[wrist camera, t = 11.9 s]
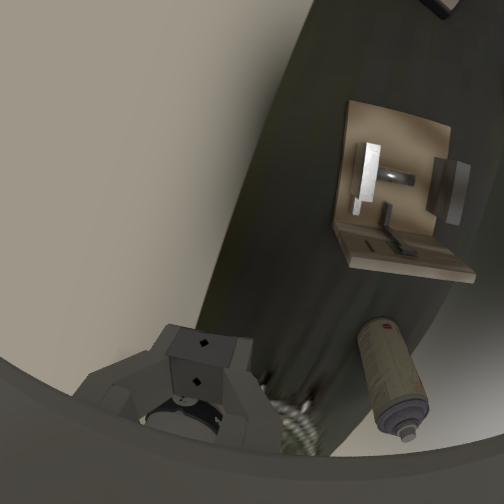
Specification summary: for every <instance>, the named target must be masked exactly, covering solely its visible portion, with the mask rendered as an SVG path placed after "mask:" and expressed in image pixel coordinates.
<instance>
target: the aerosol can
mask: <svg viewBox="0 0 504 504" xmlns="http://www.w3.org/2000/svg"><path fill="white" fill-rule="evenodd" d="M357 341H358V346H359V350H360V354H361V358H362V362H363V366H364V371H365V375H366V380H367V384H368V389H369V394H370V398H371V403H372V408H373V413H374V419H375V423H376V424H377V427H378V429H379V430H380V431H381V432H383V433H386V434H392V435H395V436H399V437H401V441H402V442H409V441H412V440H413V439H414V438H415V437H416V433H415V431H416V429H417V428H418V426H419V425H420V424H421V423H422V421H423V420H424V418H425V417H426V416H427V415H428V412H429V405H428V398H427V395H426V393H425V390H424V388H423V385H422V382H421V380H420V378H419V375H418V373H417V370H416V368H415V365H414V363H413V360H412V358H411V356H410V353H409V351H408V349H407V346H406V344H405V342H404V340H403V337H402V335H401V333H400V331H399V329H398V326H397V325H396V323H395V322H394V321H393V320H392V319H390V318H387V317H376V318H373V319H371V320H369V321H368V322H366V323H365V324H364V325H363V326H362V327H361V328H360V330H359V332H358V334H357Z"/></svg>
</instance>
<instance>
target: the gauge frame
mask: <svg viewBox="0 0 504 504" xmlns="http://www.w3.org/2000/svg"><path fill="white" fill-rule="evenodd" d="M450 130H451V127H448V126H445V125H442V124H439V123H436V122H433V121H430V120H427V119H424V118H420V117H417V116H414V115H410V114H406V113H403V112H399V111H395V110H391V109H387V108H383V107H379V106H375V105H370V104H365V103H361V102H356V101H351V100H349V101H348V102H347V111H346V121H345V131H344V140H343V148H342V156H341V164H340V172H339V179H338V186H337V192H336V199H335V205H334V212H333V218H332V224H331V227H332V229H334V232H335V234H336V236H337V239H338V241H339V243H340V246H341V248H342V251H343V253H344V256H345V258H346V261H347V263H348V266H349V267H351V268H359V269H366V270H374V271H381V272H389V273H397V274H404V275H412V276H420V277H428V278H435V279H443V280H451V281H459V282H466V283H474V280H475V277H476V273H474V272H473V271H472V270H471V269H470V268H469V267H468V266H467V265H465V264H464V263H463V262H462V261H461V260H460V259H459V258H458V257H456V256H455V255H454V254H453V253H452V252H450V251H449V250H448V249H447V248H446V247H445V246H443V245H442V244H441V243H440V242H438V241H437V240H436V239H435V238H434V237H432V234H433V230H434V226H435V222H436V218H437V217H438V218H439V219H441V220H443V221H444V222H446V223H450V224H455V225H459V224H460V219H461V215H462V211H463V206H464V201H465V196H466V191H467V185H468V180H469V173H470V167H471V166H470V165H467V164H465V163H462V162H458V161H454V160H449V159H447V156H448V149H449V140H450ZM357 142H361V143H371V144H376V145H381V148H380V156H379V163H378V166H382V167H386V168H391V169H396V170H400V171H404V172H409V173H413V174H415V184H414V186H413V187H408V186H404V185H399V184H394V183H389V182H384V181H379V180H376V183H375V189H374V195H373V201H372V202H367V201H362V202H361V207H360V213H359V216H358V215H352V213H351V212H350V208H351V202H352V196H353V194H352V193H351V192H350V188H351V182H352V175H353V168H354V161H355V153H356V145H357ZM385 202H389V203H390V204H392V205H393V207H392V212H391V217H390V222H389V227H390V228H391V229H392V230H393V231H394V232H395V233H396V234H397V235H398V236H399V237H400V238H401V239H402V240H403V241H404V242H405V243H406V244H407V245H408V246H409V247H412V248H414V249H415V250H416V251H417V256H413V255H407V254H402V253H401V252H400V251H399V250H398V248H399V246H398V245H397V244H396V243H395V242H394V241H393V240H392V238H391V237H390V236H389V235H388V234H387V233H386V232H385V231H384V230H383V229H382V228H381V226H380V225H379V222H381V218H382V213H383V208H384V203H385Z"/></svg>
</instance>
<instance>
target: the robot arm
mask: <svg viewBox="0 0 504 504" xmlns="http://www.w3.org/2000/svg"><path fill="white" fill-rule="evenodd" d="M253 343H254V340H253V339H251V338H244V337H234V336H228V335H222V334H216V333H210V332H206V331H201V330H196V329H192V328H187V327H182V326H177V325H173V324H168V325H166V326H165V328H164V329H163V331H162V333H161V334H160V336H159V337H158V339H157V340H156V342H155V343H154V345H153V346H152V348H151V349H150V351H147V350H145V351H142V352H140V353H138V354H136V355H133V356H131V357H129V358H126V359H124V360H121V361H119V362H117V363H114V364H112V365H110V366H107V367H105V368H102V369H100V370H97V371H95V372H93V373H90V374H89V375H88V376H87V378H86V379H85V380H84V382H83V383H82V384H81V385H80V387H79V388H78V389H77V391H76V392H75V393H74V394H73V396H70V395H67V394H65V393H63V392H61V391H59V390H57V389H55V388H53V387H51V386H49V385H47V384H46V383H44V382H41V381H40V380H38V379H36V378H34V377H33V376H31V375H29V374H27V373H26V372H24V371H22V370H21V369H19V368H17V367H16V366H14V365H12V364H11V363H9V362H8V361H6V360H4V359H3V358H1V357H0V504H504V434H501V435H498V436H495V437H491V438H487V439H483V440H480V441H475V442H471V443H467V444H463V445H458V446H452V447H447V448H442V449H436V450H430V451H422V452H415V453H407V454H395V455H384V456H383V455H382V456H364V457H363V456H361V457H326V456H304V455H290V454H280V446H281V436H282V425H283V421H282V419H281V418H280V416H279V415H278V413H277V412H276V410H275V409H274V407H273V406H272V404H271V403H270V401H269V400H268V398H267V396H266V395H265V393H264V392H263V390H262V389H261V387H260V386H259V384H258V380H257V378H255V377H254V376H253V375H252V373H251V372H250V367H251V360H252V351H253ZM146 414H147V415H146ZM145 415H146V419H145V420H146V423H145V425H142V424H140V421H139V419H140V418H142V417H143V416H145Z"/></svg>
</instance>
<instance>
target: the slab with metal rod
mask: <svg viewBox="0 0 504 504" xmlns="http://www.w3.org/2000/svg"><path fill="white" fill-rule="evenodd" d="M380 148H381V145H376V144H371V143H361V142H357V145H356V153H355V161H354V168H353V175H352V182H351V188H350V192H351V193H352V194H353V196H352V202H351V208H350V212H351V213H352V215H358V216H359V213H360V207H361V202H362V201H367V202H372V201H373V195H374V189H375V183H376V180H379V181H384V182H389V183H394V184H399V185H404V186H408V187H413V186H414V184H415V174H413V173H409V172H404V171H400V170H396V169H391V168H386V167H382V166H378V163H379V156H380Z"/></svg>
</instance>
